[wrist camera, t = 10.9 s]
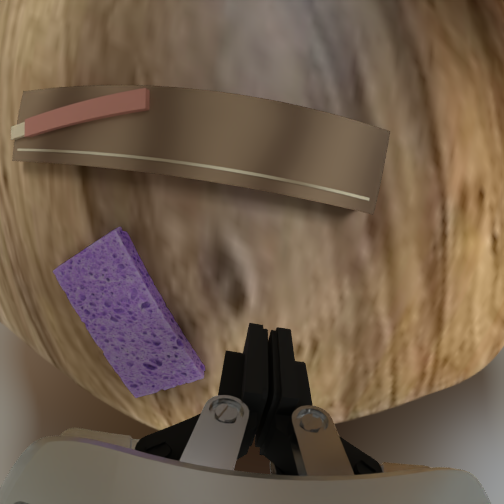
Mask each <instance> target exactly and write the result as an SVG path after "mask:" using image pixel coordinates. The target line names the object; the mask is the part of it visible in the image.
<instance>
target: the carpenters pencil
mask: <svg viewBox="0 0 504 504" xmlns="http://www.w3.org/2000/svg"><path fill="white" fill-rule="evenodd" d="M147 110H150V90H148V89H147V88H141V89H136V90H130V91H125V92H120V93H115V94H111V95H106V96H102V97H98V98H94V99H90V100H86V101H82V102H78V103H75V104H71V105H68V106H64V107H61V108H57V109H54V110H51V111H48V112H45V113H42V114H39V115H36V116H33V117H30V118H27V119H25V122H23V123H20V124H17V125H15V126H12V127H11V140H16V139H19V138H22V137H33V136H36V135H39V134H42V133H46V132H49V131H53V130H56V129H60V128H64V127H68V126H72V125H76V124H80V123H84V122H89V121H93V120H98V119H102V118H107V117H112V116H118V115H123V114H129V113H135V112H141V111H147Z"/></svg>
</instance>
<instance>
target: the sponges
mask: <svg viewBox="0 0 504 504" xmlns="http://www.w3.org/2000/svg"><path fill="white" fill-rule="evenodd" d="M53 273H54V274H55V275H56V278H57V280H58V282H59V284H60V286H61V287H62V289H63V290H64V291H65V293H66V294H67V298H68V299H69V301H70V303H71V305H72V307H73V308H74V309H75V310H76V313H77V314H78V315H79V316H80V318H81V321H82V322H84V323H85V325H86V328H87V330H88V331H89V333H90V334H91V337H92V338H93V339H94V341H95V343H96V344H97V346H99V347H100V348H101V349H102V350H103V351H104V353H103V354H104V356H105V357H106V359H107V360H108V362H109V363H110V365H111V366H112V367H113V369H114V370H115V372H116V373H117V374H118V375H119V376H120V378H121V380H122V382H123V383H124V384H125V386H126V387H127V388H128V389H129V391H130V392H131V393H132V394H133V395H134V396H135V398H138V397H141V396H145V395H150V394H153V393H156V392H158V391H159V390H161V389H163V390H166V389H169V388H174V387H175V386H177V385H182V384H185V383H191V382H194V381H196V380H199V379H203V378H204V371H205V366H204V364H203V363H202V362H201V360H200V359H199V357H198V356H197V354H196V352H195V351H194V349H192V346H191V345H190V343H189V341H188V340H187V339H186V338H185V336H184V334H183V333H182V331H181V329H180V327H179V326H178V324H177V322H176V321H175V320H174V317H173V315H172V314H171V313H170V311H169V309H168V308H166V304H165V302H164V300H163V298H162V296H161V295H160V293H159V291H158V290H157V288H156V287H155V285H154V283H153V281H152V279H151V277H150V276H149V274H148V272H147V270H146V268H145V266H144V264H143V262H142V261H141V259H140V257H139V255H138V253H137V251H136V249H135V246H134V245H133V243H132V241H131V239H130V237H129V235H128V233H127V232H126V231H122V228H121V227H118V228H116V229H114V230H112V231H111V232H109V233H108V234H106V235H105V236H103V237H102V238H100V239H98V240H97V241H95V242H94V243H92V244H91V245H89V246H88V247H86V248H85V249H84V250H82V251H81V252H79V253H78V254H76V255H75V256H73V257H72V258H70V259H69V260H67V261H65V262H64V263H63V264H61V265H59V266H58V267H57V268H56V269H54V270H53Z"/></svg>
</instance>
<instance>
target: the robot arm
mask: <svg viewBox="0 0 504 504" xmlns="http://www.w3.org/2000/svg"><path fill="white" fill-rule="evenodd" d="M254 437H255V447H260V455H264V456H265V457H267V458H268V459H269V460H270V461H271V463H270V470H271V474H261V473H250V472H241V471H234V470H233V469H234V466H235V463H236V460H237V459H239V458H240V457H242V456H244V455H246V454H247V452H248V449H249V446H251V445H252V443H253V440H254ZM0 504H491V502H490V500H489V498H488V496H487V494H486V492H485V490H484V488H483V487H482V485H481V483H480V482H479V481H478V479H477V478H476V477H475V476H474V475H473V474H471V473H469V472H467V471H464V470H461V469H454V468H444V467H435V468H430V467H428V466H423V465H407V464H396V463H386V462H384V463H383V464H382V465H380V464H379V463H378V462H377V461H376V460H374V459H373V458H371V457H370V456H368V455H367V454H365V453H364V452H362V451H360V450H359V449H357V448H356V447H354V446H353V445H351V444H350V443H348V442H347V441H345V440H344V439H342V438H341V437H340V436H339V435H338V433H337V430H336V428H335V425H334V423H333V420H332V418H331V416H330V415H329V414H328V413H327V412H326V411H325V410H323V409H321V408H319V407H316V406H312V400H311V393H310V387H309V381H308V376H307V370H306V365H305V363H304V362H298V361H295V359H294V351H293V344H292V336H291V330H290V329H284V328H278V327H277V328H276V331H275V330H271V332H270V336H269V340H268V330H267V329H263V325H259V324H253V323H249V327H248V332H247V337H246V341H245V346H244V351H243V353H237V352H232V351H226V353H225V359H224V365H223V370H222V376H221V381H220V387H219V393H218V396H215V397H212V398H211V399H209V400H208V401H207V402H206V404H205V406H204V408H203V410H202V412H201V414H199V415H197V416H195V417H192V418H190V419H188V420H185V421H183V422H180V423H178V424H175V425H173V426H171V427H168V428H166V429H163V430H160V431H158V432H155V433H153V434H150V435H147V436H145V437H143V438H141V439H131V436H127V435H119V434H112V433H105V432H99V431H93V430H87V429H82V428H70V429H67V430H66V431H64V432H63V433H62V434H61V436H50V437H44V438H41V439H39V440H37V441H35V442H34V443H32V444H31V445H30V446H29V447H28V448H27V449H26V450H25V451H24V452H23V453H22V455H21V456H20V457H19V459H18V460H17V461H16V463H15V464H14V466H13V467H12V469H11V470H10V472H9V473H8V475H7V477H6V479H5V480H4V482H3V484H2V486H1V487H0Z"/></svg>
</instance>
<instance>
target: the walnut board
mask: <svg viewBox="0 0 504 504" xmlns="http://www.w3.org/2000/svg"><path fill="white" fill-rule="evenodd" d="M141 88H147V89H148V90H150V110H147V111H141V112H135V113H129V114H123V115H118V116H112V117H107V118H102V119H98V120H93V121H89V122H84V123H80V124H76V125H72V126H68V127H64V128H60V129H56V130H53V131H49V132H46V133H42V134H39V135H36V136H33V137H22V138H19V139H16V140H15V142H14V150H13V159H12V161H26V162H43V163H57V164H70V165H82V166H93V167H103V168H112V169H121V170H130V171H138V172H146V173H154V174H162V175H169V176H176V177H183V178H190V179H196V180H203V181H209V182H215V183H221V184H227V185H233V186H239V187H245V188H250V189H256V190H261V191H266V192H272V193H277V194H282V195H287V196H292V197H297V198H302V199H307V200H311V201H316V202H321V203H325V204H330V205H334V206H339V207H343V208H347V209H352V210H356V211H360V212H364V213H368V214H374V210H375V206H376V201H377V197H378V192H379V188H380V183H381V178H382V173H383V168H384V163H385V158H386V152H387V147H388V141H389V135H390V131H387V130H384V129H381V128H378V127H375V126H372V125H369V124H366V123H362V122H359V121H356V120H352V119H349V118H345V117H342V116H338V115H335V114H331V113H327V112H323V111H319V110H315V109H311V108H307V107H302V106H298V105H293V104H289V103H284V102H279V101H274V100H269V99H263V98H257V97H252V96H245V95H239V94H232V93H225V92H217V91H209V90H199V89H189V88H177V87H162V86H138V85H97V86H74V87H60V88H49V89H39V90H31V91H23V95H22V100H21V105H20V110H19V115H18V121H17V124H20V123H23V122H25V119H27V118H30V117H33V116H36V115H39V114H42V113H45V112H48V111H51V110H54V109H57V108H61V107H64V106H68V105H71V104H75V103H78V102H82V101H86V100H90V99H94V98H98V97H102V96H106V95H111V94H115V93H120V92H125V91H130V90H136V89H141Z"/></svg>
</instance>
